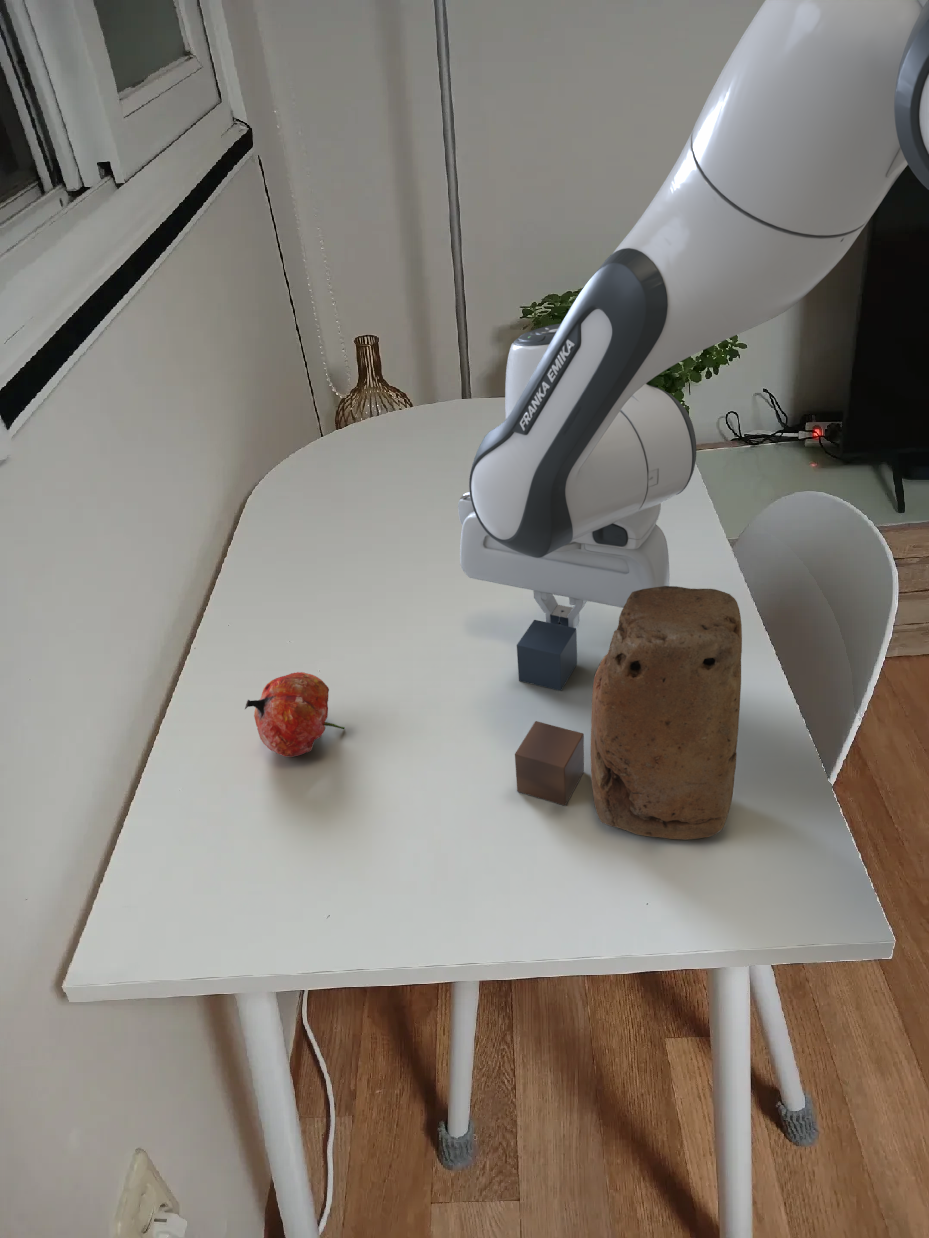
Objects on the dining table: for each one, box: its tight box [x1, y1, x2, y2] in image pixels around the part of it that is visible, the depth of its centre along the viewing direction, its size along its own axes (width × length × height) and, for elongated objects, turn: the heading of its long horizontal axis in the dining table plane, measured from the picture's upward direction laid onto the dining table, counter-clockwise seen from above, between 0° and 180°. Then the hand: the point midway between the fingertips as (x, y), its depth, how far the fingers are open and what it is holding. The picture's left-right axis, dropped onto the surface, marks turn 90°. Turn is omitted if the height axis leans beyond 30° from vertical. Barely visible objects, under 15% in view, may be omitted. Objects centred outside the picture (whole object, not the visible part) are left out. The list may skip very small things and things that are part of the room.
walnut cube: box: [514, 720, 585, 807], centre depth 80 cm, size 4×4×4 cm
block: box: [590, 585, 743, 840], centre depth 72 cm, size 11×8×20 cm
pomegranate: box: [244, 671, 346, 758], centre depth 86 cm, size 7×7×10 cm
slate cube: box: [516, 619, 578, 691], centre depth 92 cm, size 4×4×4 cm
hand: (562, 625), depth 94 cm, fingers closed
